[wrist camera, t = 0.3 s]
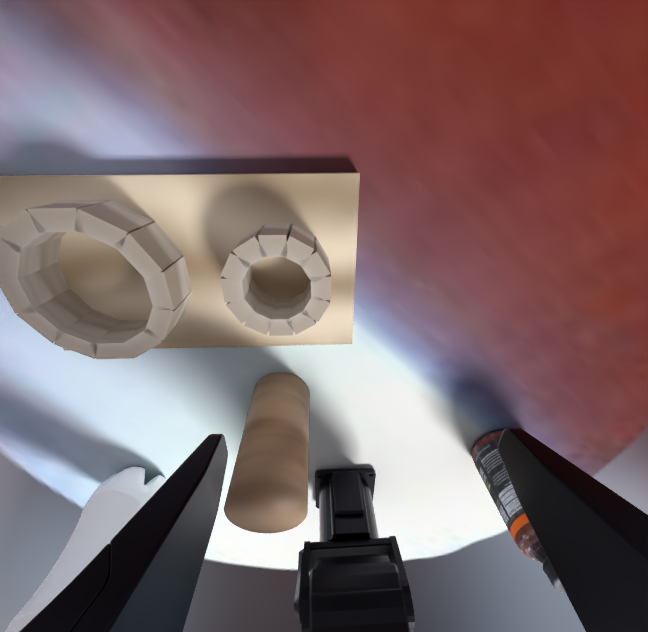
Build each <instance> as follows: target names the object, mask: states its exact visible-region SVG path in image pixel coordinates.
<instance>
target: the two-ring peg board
mask: <svg viewBox="0 0 648 632" xmlns="http://www.w3.org/2000/svg"><path fill="white" fill-rule="evenodd" d="M359 181H360V173H358V172H343V173H237V174H131V175H25V176H0V228H1V230H0V288H1V289H2V291H3V293H4V295H5V296H6V298H7V300H8V301H9V303H10V305H11V307H12V308H13V310H14V312H15V313H18V314H17V315H18V316H19V317H20V318H21V319H23V320H24V321H25V322H26V323H28V324H29V325H30V326H31V327H33V328H34V329H35V330H37V331H38V332H39V333H40V334H42V335H43V336H44V337H45V338H47V339H48V340H49V341H50V342H52V343H53V342H55V343H54V344H55V345H58V346H61V347H63V349H64V350H72V351H75V352H78V353H80V354H83V355H86V356H89V357H92V358H94V359H95V358H96V359H117V358H134V357H135V358H136V357H137V356H139V355H141V354H142V353H144V352H146V351H148V350H149V349H151V348H192V347H236V346H281V345H325V344H352V333H353V311H354V290H355V268H356V246H357V224H358V203H359Z"/></svg>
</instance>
